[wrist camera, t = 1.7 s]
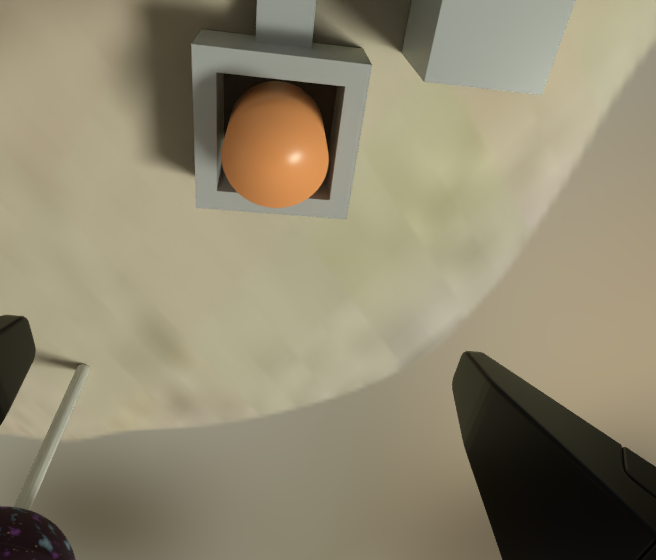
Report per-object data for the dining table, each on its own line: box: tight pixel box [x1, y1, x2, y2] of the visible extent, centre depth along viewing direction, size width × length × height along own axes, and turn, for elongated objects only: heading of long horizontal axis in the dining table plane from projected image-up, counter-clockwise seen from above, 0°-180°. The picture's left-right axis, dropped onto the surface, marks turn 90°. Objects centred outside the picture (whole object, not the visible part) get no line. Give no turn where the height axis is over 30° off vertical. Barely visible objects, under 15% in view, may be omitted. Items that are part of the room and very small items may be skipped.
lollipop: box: [0, 364, 90, 560], centre depth 22 cm, size 7×7×15 cm
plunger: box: [221, 81, 329, 208], centre depth 18 cm, size 4×4×3 cm
